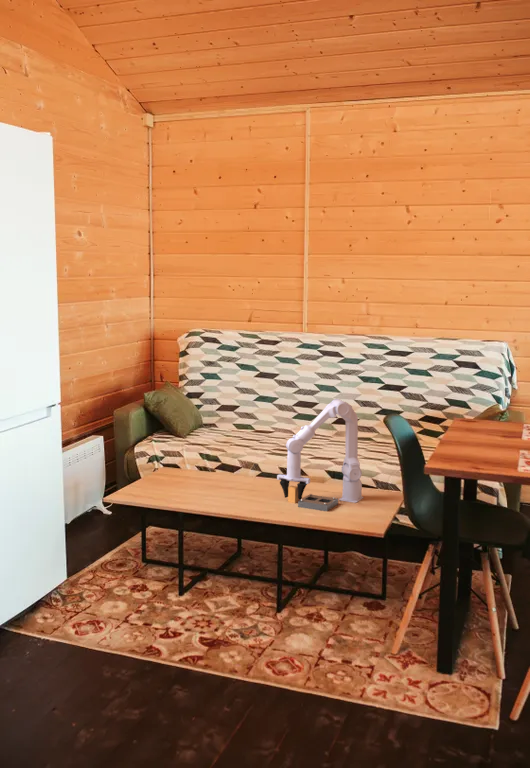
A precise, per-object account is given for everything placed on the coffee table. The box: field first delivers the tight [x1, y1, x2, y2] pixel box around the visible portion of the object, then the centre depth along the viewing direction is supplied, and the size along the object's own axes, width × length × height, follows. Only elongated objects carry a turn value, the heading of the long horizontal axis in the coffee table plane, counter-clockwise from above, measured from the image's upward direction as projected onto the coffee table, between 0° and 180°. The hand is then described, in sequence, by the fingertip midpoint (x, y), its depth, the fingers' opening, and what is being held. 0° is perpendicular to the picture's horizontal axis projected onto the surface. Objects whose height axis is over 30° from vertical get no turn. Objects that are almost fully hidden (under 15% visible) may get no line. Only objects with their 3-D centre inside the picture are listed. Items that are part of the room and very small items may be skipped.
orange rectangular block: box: [287, 485, 299, 504], centre depth 328 cm, size 3×3×6 cm
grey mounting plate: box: [297, 493, 339, 512], centre depth 323 cm, size 12×13×3 cm
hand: (293, 498), depth 328 cm, fingers open, 6 cm apart
